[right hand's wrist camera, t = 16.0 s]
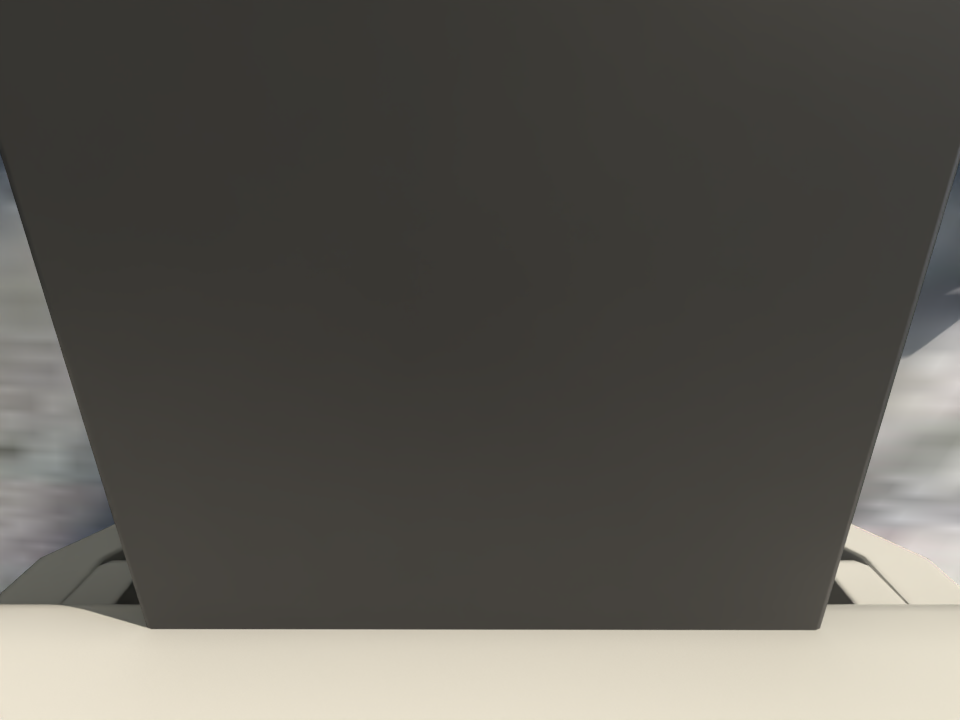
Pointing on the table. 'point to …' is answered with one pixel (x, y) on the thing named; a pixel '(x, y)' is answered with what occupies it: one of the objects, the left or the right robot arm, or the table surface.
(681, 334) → the box
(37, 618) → the right robot arm
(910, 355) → the table surface
